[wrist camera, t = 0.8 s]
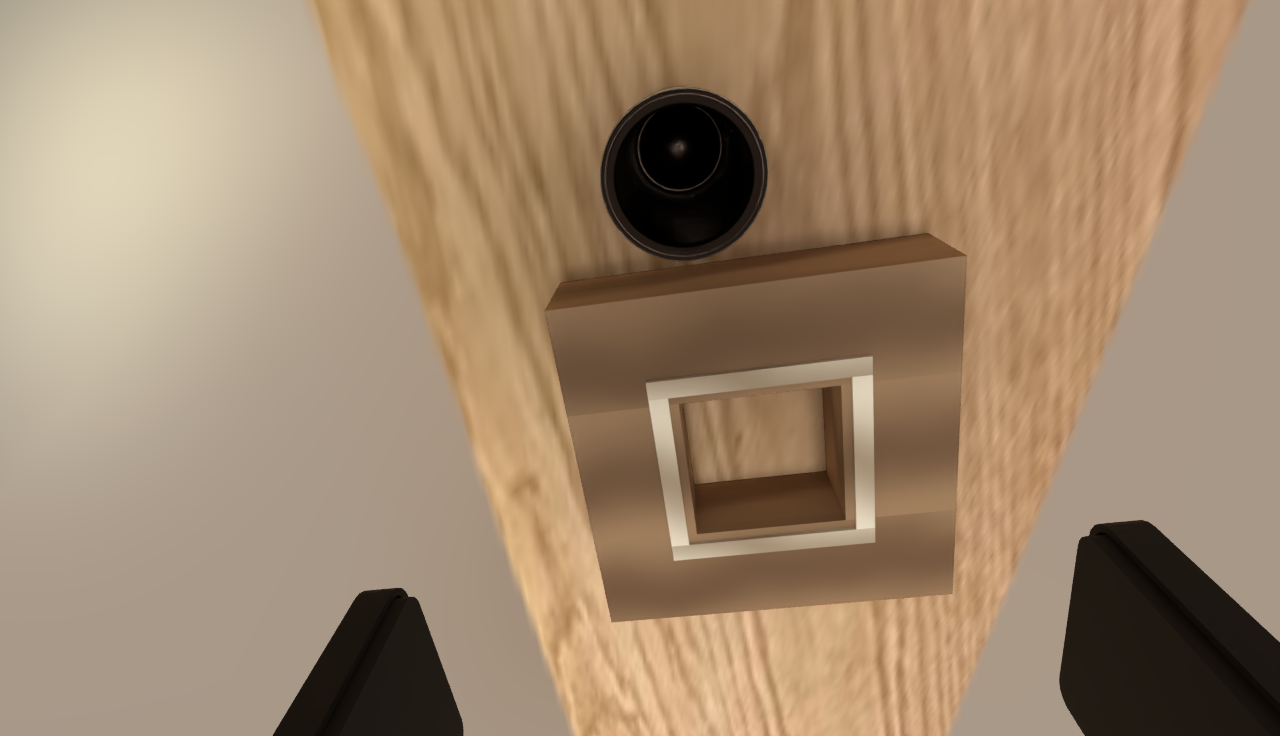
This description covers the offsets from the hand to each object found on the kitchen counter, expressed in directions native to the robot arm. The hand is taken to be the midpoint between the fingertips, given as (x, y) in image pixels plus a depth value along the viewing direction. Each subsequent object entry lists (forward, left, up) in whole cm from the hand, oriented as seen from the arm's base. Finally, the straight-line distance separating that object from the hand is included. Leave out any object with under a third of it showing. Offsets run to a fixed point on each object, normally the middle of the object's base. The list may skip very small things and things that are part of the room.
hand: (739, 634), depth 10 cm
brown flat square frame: (+8, +2, -21) cm, 23 cm away
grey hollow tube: (-5, 0, -22) cm, 22 cm away
